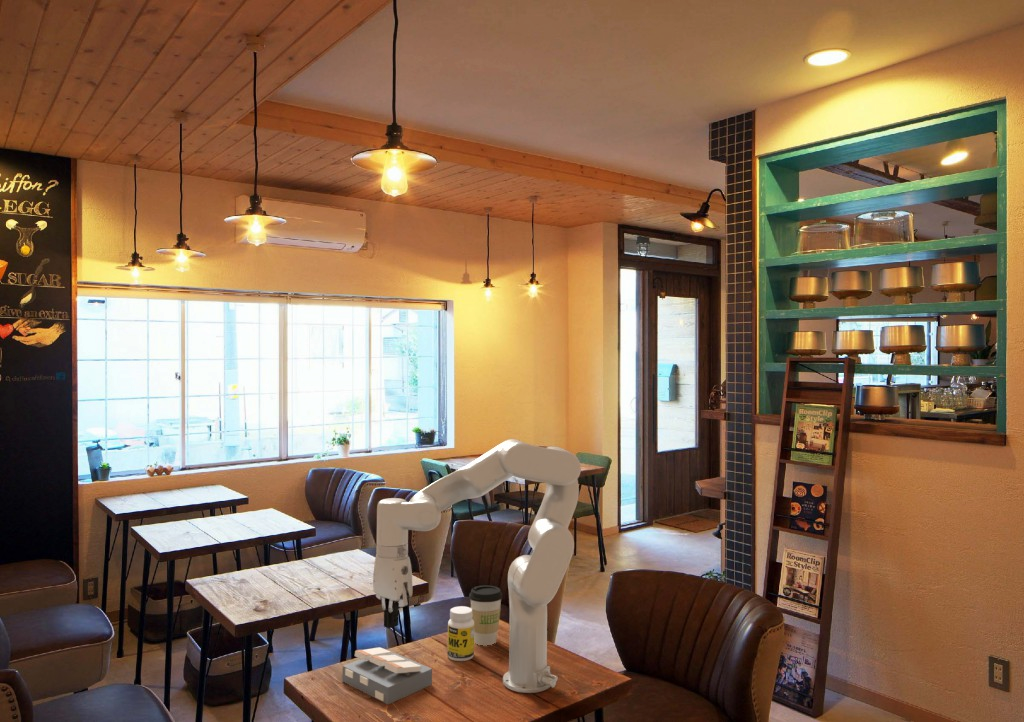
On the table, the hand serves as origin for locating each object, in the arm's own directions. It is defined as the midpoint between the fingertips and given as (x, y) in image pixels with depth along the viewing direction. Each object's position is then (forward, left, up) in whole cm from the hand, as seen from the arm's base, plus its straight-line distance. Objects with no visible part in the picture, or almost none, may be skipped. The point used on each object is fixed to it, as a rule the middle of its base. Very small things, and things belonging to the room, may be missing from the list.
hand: (391, 626), depth 172 cm
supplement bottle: (+4, -28, -17) cm, 33 cm away
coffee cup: (+6, -40, -17) cm, 43 cm away
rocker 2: (+6, -4, -12) cm, 13 cm away
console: (+6, -4, -17) cm, 18 cm away
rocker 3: (0, -4, -12) cm, 12 cm away
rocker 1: (+12, -4, -12) cm, 17 cm away
